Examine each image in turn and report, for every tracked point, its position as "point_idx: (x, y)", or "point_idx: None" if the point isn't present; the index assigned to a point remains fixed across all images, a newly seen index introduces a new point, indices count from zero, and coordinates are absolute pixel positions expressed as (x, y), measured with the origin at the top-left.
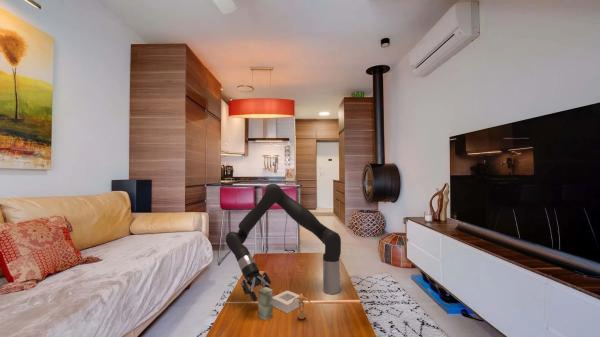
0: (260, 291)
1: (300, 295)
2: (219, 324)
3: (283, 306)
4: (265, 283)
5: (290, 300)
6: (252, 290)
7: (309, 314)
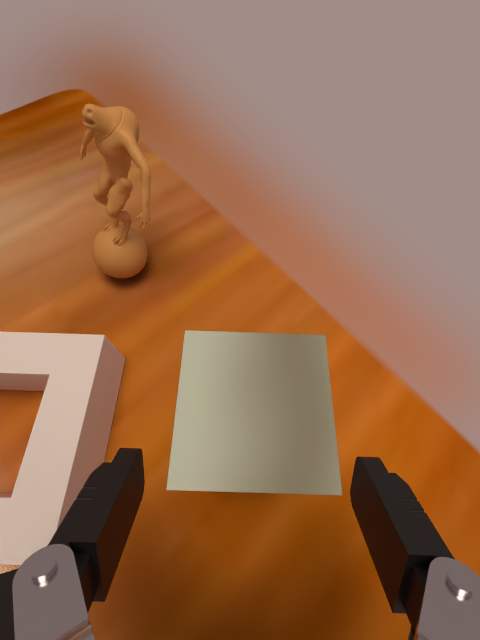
0: (334, 437)
1: (113, 113)
2: None
3: (104, 383)
4: (73, 609)
5: (27, 360)
6: (450, 573)
7: (69, 262)
